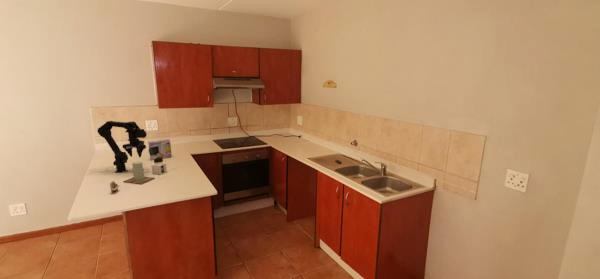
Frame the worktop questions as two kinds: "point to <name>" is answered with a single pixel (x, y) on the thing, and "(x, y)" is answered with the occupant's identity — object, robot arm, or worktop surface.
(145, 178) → the walnut board
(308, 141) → the worktop surface
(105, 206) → the worktop surface
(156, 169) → the container
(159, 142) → the cake pan box
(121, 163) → the robot arm
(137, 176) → the sage block
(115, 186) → the architectural model
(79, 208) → the worktop surface
